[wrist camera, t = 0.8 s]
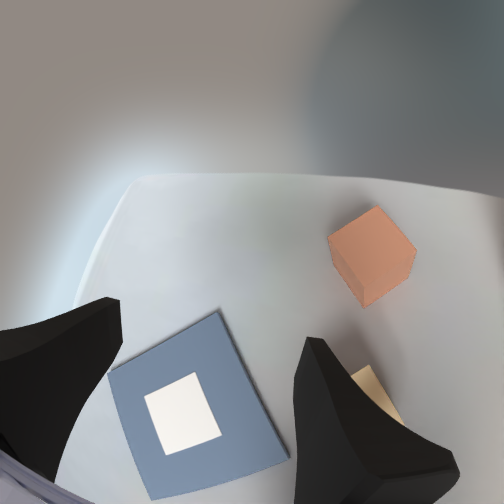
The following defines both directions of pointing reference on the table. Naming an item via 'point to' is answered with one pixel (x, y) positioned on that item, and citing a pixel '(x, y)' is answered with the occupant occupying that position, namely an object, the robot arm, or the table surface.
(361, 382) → the oak block
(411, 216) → the table surface
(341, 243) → the terracotta block
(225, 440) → the board
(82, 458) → the table surface
